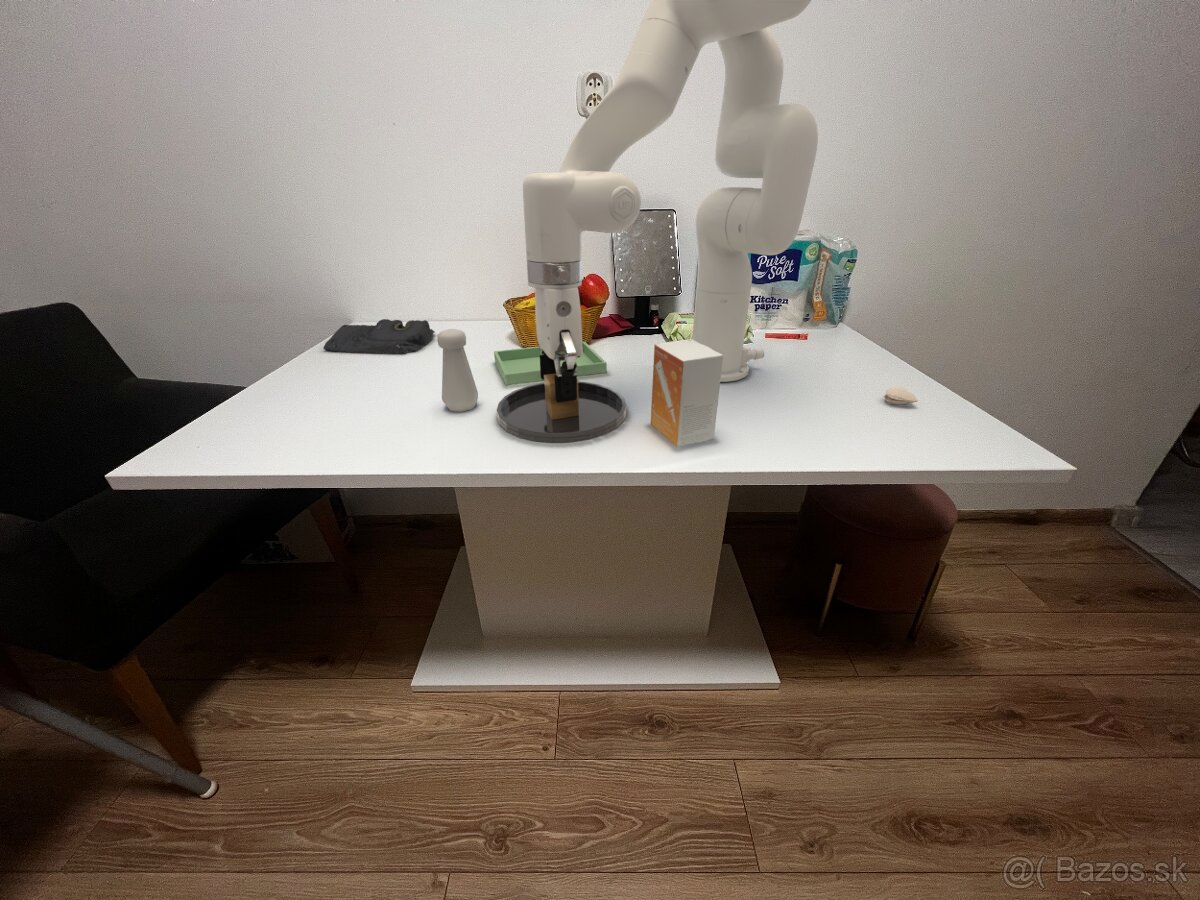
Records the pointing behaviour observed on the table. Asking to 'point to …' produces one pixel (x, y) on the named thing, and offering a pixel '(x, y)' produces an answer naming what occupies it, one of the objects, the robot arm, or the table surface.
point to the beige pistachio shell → (899, 396)
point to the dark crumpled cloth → (381, 337)
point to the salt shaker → (456, 372)
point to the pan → (532, 421)
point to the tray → (526, 364)
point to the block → (558, 408)
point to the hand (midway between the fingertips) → (558, 388)
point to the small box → (685, 391)
